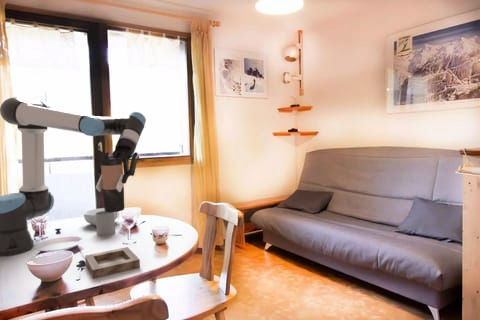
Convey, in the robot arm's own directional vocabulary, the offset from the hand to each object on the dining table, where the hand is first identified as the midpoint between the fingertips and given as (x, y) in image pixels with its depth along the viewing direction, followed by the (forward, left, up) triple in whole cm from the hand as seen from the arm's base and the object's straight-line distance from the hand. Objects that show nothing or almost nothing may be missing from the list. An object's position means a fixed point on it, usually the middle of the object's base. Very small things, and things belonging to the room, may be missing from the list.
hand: (108, 189), depth 127 cm
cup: (-25, +35, -29) cm, 51 cm away
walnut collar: (+1, -1, -28) cm, 29 cm away
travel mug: (0, +4, -9) cm, 9 cm away
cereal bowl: (-36, +48, -29) cm, 66 cm away
